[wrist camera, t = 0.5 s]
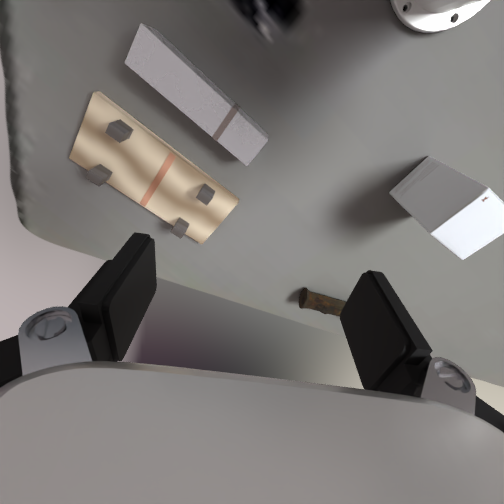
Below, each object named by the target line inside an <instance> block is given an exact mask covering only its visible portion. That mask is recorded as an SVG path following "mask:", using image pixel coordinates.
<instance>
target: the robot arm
mask: <svg viewBox="0 0 504 504" xmlns="http://www.w3.org/2000/svg"><path fill="white" fill-rule="evenodd" d="M390 1H391V4H392V7H393V10H394V12H395V13H396V15H397V17H398V19H399V20H400V21H401V22H402V23H403V24H404V25H405V26H407V27H409V28H410V29H412V30H414V31H418V32H422V33H435V32H439V31H444V30H447V29H450V28H453V27H456V26H457V25H459V24H461V23H463V22H464V21H466V20H468V19H469V18H471V17H472V16H473V15H475V14H476V13H477V12H478V11H480V10H481V9H482V8H483V7H484V6H485V5H486V4H487V3H488V2H489V1H490V0H390ZM403 6H405V7H406V9H405V11H403ZM451 17H452V20H451V22H450V18H451ZM156 286H157V283H156V262H155V242H154V239H152V238H150V235H148V234H142V233H134V234H133V235H132V236H131V237H130V238H129V240H128V241H127V242H126V243H125V245H124V246H123V247H122V248H121V250H120V251H119V252H118V253H117V255H116V256H115V257H114V258H113V260H107V261H106V262H105V263H104V264H103V265H102V267H101V268H100V269H99V270H98V271H97V273H96V274H95V275H94V276H93V277H92V279H91V280H90V281H89V282H88V283H87V285H86V286H85V287H84V288H83V289H82V291H81V292H80V293H79V294H78V295H77V297H76V298H75V299H74V300H73V301H72V303H71V304H70V305H69V306H68V307H63V306H62V307H51V308H46V309H44V310H41V311H39V312H37V313H35V314H33V315H32V316H30V317H29V318H28V319H26V320H25V321H24V322H23V323H22V325H21V327H20V328H19V333H18V335H16V336H14V337H11V338H9V339H6V340H3V341H1V342H0V504H504V415H502V414H501V413H500V412H498V411H497V410H495V409H494V408H492V407H491V406H490V405H488V404H487V403H485V402H484V401H483V400H481V399H480V398H478V397H477V396H476V389H475V385H474V383H473V381H472V379H471V378H470V377H469V375H468V374H467V373H466V372H465V371H464V370H463V369H462V368H461V367H459V366H458V365H456V364H455V363H453V362H451V361H450V360H448V359H445V358H441V357H435V358H432V357H431V356H430V353H431V352H432V349H431V347H430V346H429V344H428V343H427V341H426V340H425V338H424V336H423V335H422V333H421V332H420V330H419V329H418V327H417V326H416V324H415V322H414V321H413V319H412V318H411V316H410V315H409V313H408V311H407V310H406V308H405V307H404V305H403V304H402V302H401V300H400V299H399V297H398V296H397V294H396V293H395V291H394V289H393V288H392V286H391V285H390V283H389V282H388V280H387V278H386V277H385V275H384V274H383V273H382V272H377V271H371V270H369V271H367V272H366V273H363V274H362V275H361V277H360V279H359V281H358V282H357V284H356V286H355V288H354V290H353V291H352V293H351V295H350V297H349V298H348V300H347V302H346V304H345V306H344V307H343V309H342V311H341V313H340V320H341V323H342V326H343V329H344V332H345V335H346V338H347V341H348V344H349V347H350V350H351V353H352V356H353V359H354V362H355V365H356V368H357V370H358V373H359V376H360V379H361V382H362V385H363V387H364V389H365V390H364V389H356V388H348V387H340V386H332V385H324V384H316V383H308V382H300V381H292V380H282V379H275V378H267V377H258V376H250V375H241V374H233V373H224V372H215V371H207V370H197V369H189V368H180V367H171V366H161V365H151V364H141V363H130V362H117V361H122V359H123V358H124V356H125V354H126V352H127V350H128V348H129V346H130V344H131V342H132V340H133V337H134V335H135V333H136V331H137V329H138V327H139V325H140V323H141V321H142V319H143V317H144V315H145V312H146V311H147V308H148V306H149V304H150V302H151V300H152V298H153V296H154V294H155V291H156Z"/></svg>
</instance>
